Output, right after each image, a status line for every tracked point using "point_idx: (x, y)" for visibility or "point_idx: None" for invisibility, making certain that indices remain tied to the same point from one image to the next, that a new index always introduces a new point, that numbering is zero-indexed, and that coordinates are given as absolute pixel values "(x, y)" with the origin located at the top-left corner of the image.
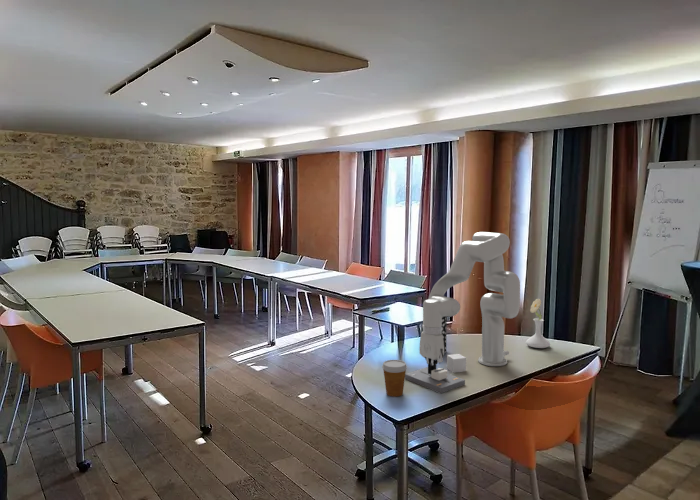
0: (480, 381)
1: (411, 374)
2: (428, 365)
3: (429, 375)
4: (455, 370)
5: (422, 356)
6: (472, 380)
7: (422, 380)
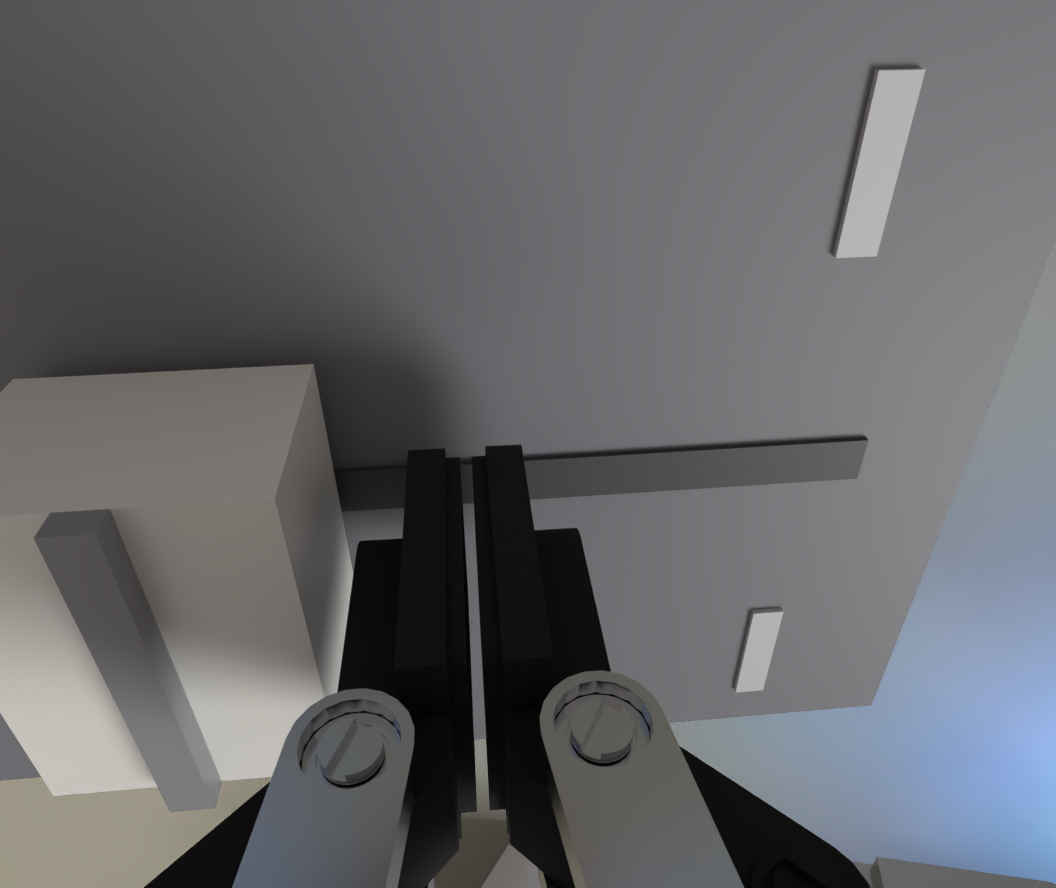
0: (34, 879)
1: (947, 123)
2: (520, 629)
3: (529, 456)
4: (513, 867)
5: (1048, 884)
6: (117, 839)
7: (339, 20)
